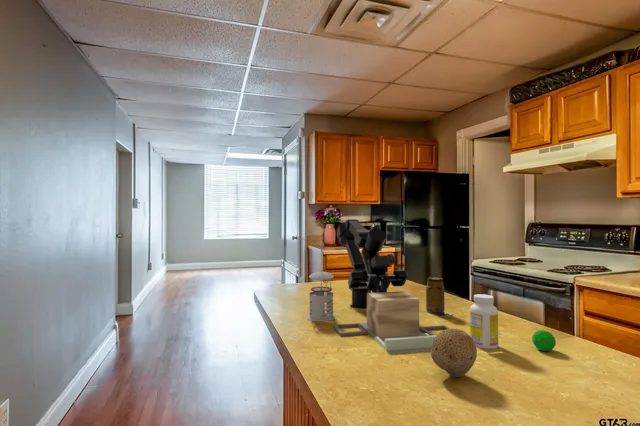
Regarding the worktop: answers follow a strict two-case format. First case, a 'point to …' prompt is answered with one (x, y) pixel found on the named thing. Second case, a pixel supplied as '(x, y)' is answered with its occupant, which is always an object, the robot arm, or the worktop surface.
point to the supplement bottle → (484, 322)
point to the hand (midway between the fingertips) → (384, 301)
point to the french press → (321, 297)
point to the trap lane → (396, 338)
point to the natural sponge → (454, 352)
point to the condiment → (435, 297)
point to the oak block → (393, 314)
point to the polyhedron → (543, 340)
